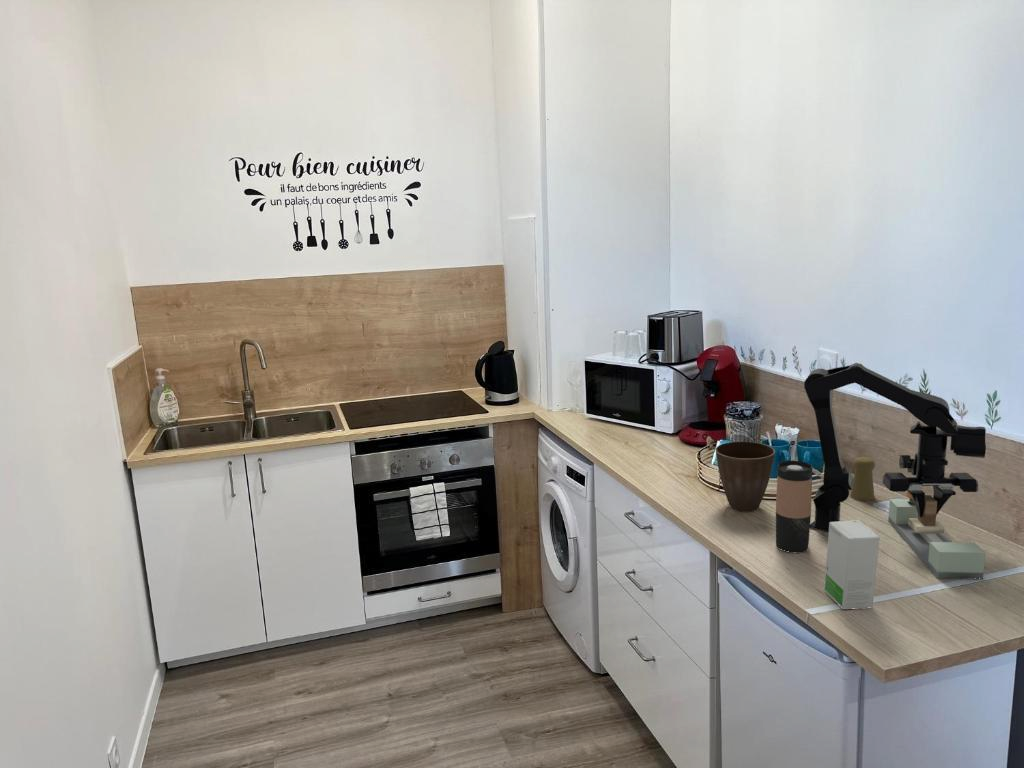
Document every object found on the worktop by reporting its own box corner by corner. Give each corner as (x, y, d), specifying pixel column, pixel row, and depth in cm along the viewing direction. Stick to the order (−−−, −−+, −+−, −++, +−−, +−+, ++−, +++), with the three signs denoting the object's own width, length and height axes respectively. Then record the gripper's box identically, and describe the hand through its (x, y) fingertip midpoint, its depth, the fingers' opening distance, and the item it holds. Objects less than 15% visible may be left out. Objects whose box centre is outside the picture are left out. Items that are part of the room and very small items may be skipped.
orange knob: (922, 506, 183) (923, 491, 182) (908, 506, 184) (909, 491, 183) (917, 501, 186) (918, 486, 185) (903, 501, 187) (904, 486, 186)
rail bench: (983, 579, 159) (985, 552, 158) (937, 578, 160) (939, 552, 159) (926, 522, 188) (928, 499, 187) (888, 521, 189) (889, 499, 188)
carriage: (944, 533, 174) (946, 502, 173) (916, 532, 175) (918, 502, 173) (935, 524, 179) (937, 494, 177) (908, 524, 180) (910, 494, 178)
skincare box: (823, 591, 157) (826, 521, 154) (853, 588, 158) (857, 518, 154) (843, 611, 149) (848, 538, 145) (876, 609, 149) (881, 535, 146)
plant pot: (743, 522, 193) (744, 462, 189) (703, 504, 206) (703, 447, 202) (785, 509, 200) (787, 451, 196) (744, 492, 213) (745, 438, 209)
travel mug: (808, 541, 180) (812, 461, 176) (810, 555, 173) (813, 472, 169) (774, 538, 183) (777, 459, 178) (774, 551, 176) (777, 469, 171)
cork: (877, 501, 202) (879, 462, 200) (852, 500, 203) (855, 461, 201) (871, 493, 208) (873, 454, 206) (847, 492, 209) (849, 454, 207)
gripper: (960, 442, 180) (954, 504, 183) (876, 442, 182) (873, 503, 186) (982, 457, 169) (975, 522, 172) (893, 457, 171) (888, 521, 175)
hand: (926, 516), depth 176 cm, fingers closed on carriage, 2 cm apart
